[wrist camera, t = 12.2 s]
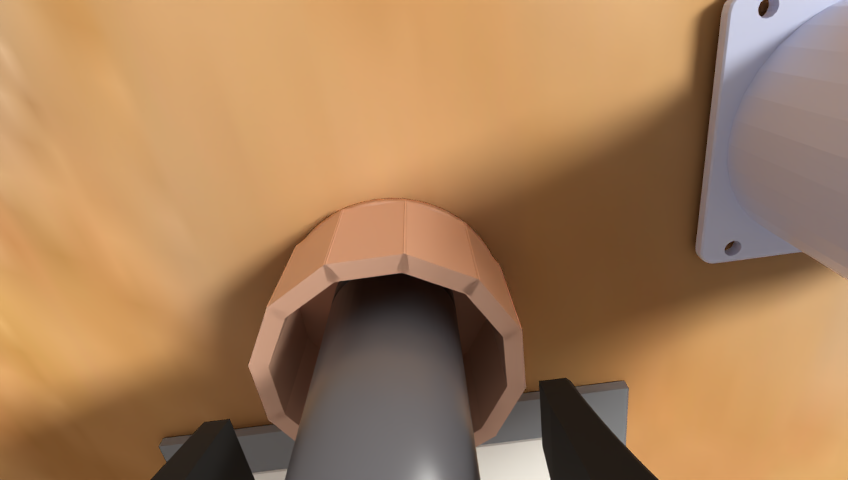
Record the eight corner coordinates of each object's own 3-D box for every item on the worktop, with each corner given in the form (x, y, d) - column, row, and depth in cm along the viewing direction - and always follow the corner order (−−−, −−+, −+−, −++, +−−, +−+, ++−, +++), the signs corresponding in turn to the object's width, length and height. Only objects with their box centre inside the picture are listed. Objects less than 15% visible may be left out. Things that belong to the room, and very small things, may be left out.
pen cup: (491, 182, 15) (516, 237, 11) (506, 366, 18) (530, 455, 15) (260, 214, 15) (215, 278, 12) (315, 391, 18) (291, 484, 15)
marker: (445, 243, 15) (494, 579, 6) (461, 345, 17) (516, 725, 8) (320, 262, 16) (195, 615, 7) (348, 361, 17) (279, 749, 8)
